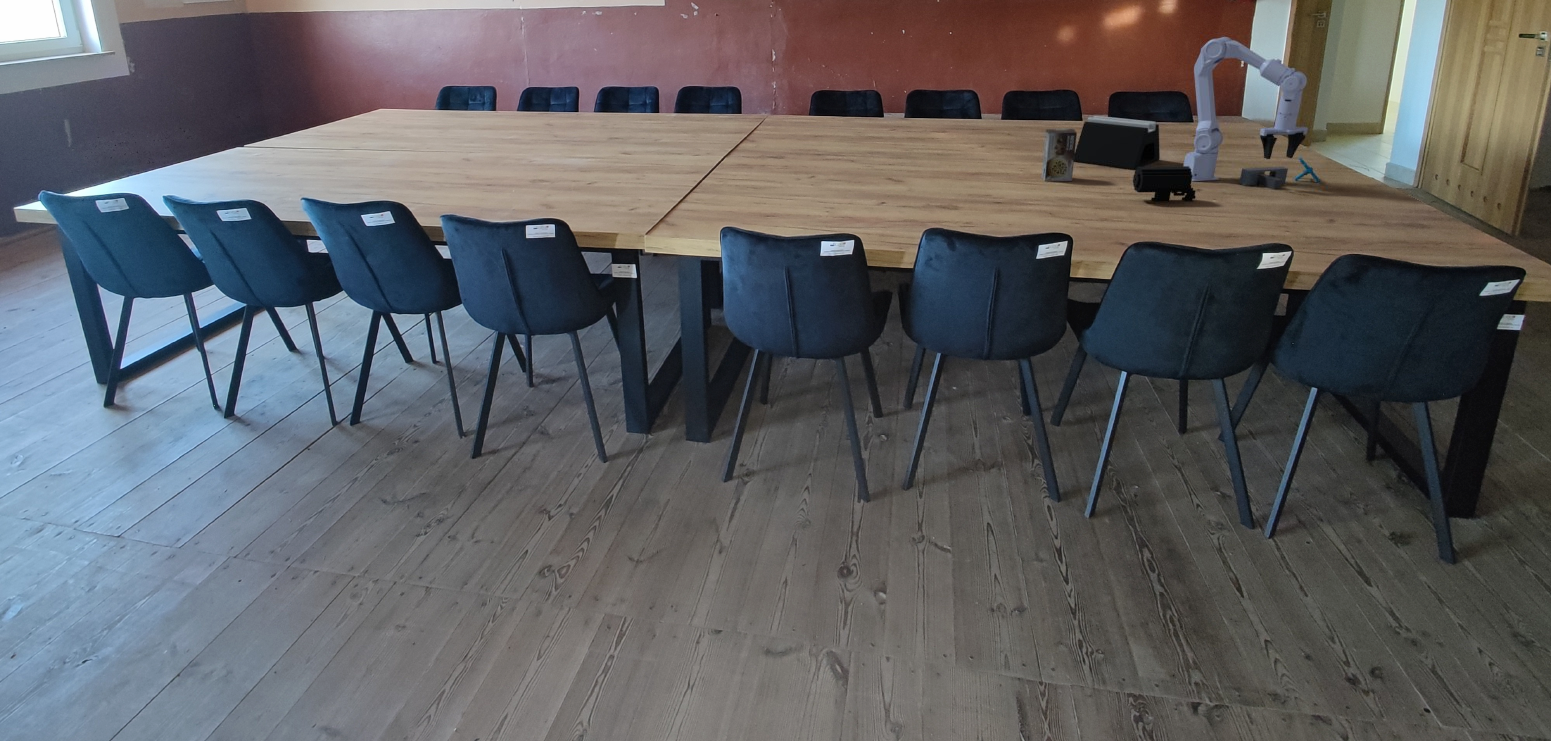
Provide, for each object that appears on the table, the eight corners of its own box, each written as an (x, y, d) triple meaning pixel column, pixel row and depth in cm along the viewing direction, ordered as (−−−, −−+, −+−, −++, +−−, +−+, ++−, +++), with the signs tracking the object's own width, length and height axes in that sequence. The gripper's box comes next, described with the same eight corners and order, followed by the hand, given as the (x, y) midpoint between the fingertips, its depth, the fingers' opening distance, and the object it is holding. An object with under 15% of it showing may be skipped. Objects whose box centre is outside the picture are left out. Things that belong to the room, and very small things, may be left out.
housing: (1244, 186, 293) (1247, 170, 291) (1239, 184, 295) (1242, 168, 293) (1284, 184, 294) (1288, 168, 292) (1278, 182, 297) (1282, 166, 295)
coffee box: (1068, 177, 308) (1074, 128, 302) (1072, 181, 303) (1077, 132, 296) (1040, 177, 309) (1045, 128, 303) (1044, 181, 303) (1049, 132, 297)
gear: (1322, 181, 291) (1302, 156, 292) (1305, 193, 294) (1285, 168, 295) (1321, 179, 300) (1302, 155, 301) (1304, 190, 303) (1285, 167, 304)
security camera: (1197, 203, 274) (1203, 170, 270) (1136, 204, 274) (1141, 170, 270) (1188, 197, 280) (1194, 165, 276) (1128, 198, 281) (1133, 166, 276)
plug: (1282, 189, 288) (1285, 178, 287) (1270, 189, 288) (1273, 178, 286) (1253, 179, 302) (1255, 168, 300) (1242, 179, 301) (1244, 168, 300)
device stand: (1132, 171, 317) (1139, 127, 311) (1072, 163, 331) (1077, 120, 325) (1159, 161, 332) (1165, 118, 325) (1100, 153, 346) (1105, 113, 340)
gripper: (1274, 116, 276) (1264, 161, 282) (1317, 115, 278) (1307, 159, 284) (1259, 113, 283) (1250, 157, 288) (1302, 111, 284) (1292, 155, 290)
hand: (1278, 158), depth 286 cm, fingers open, 7 cm apart
